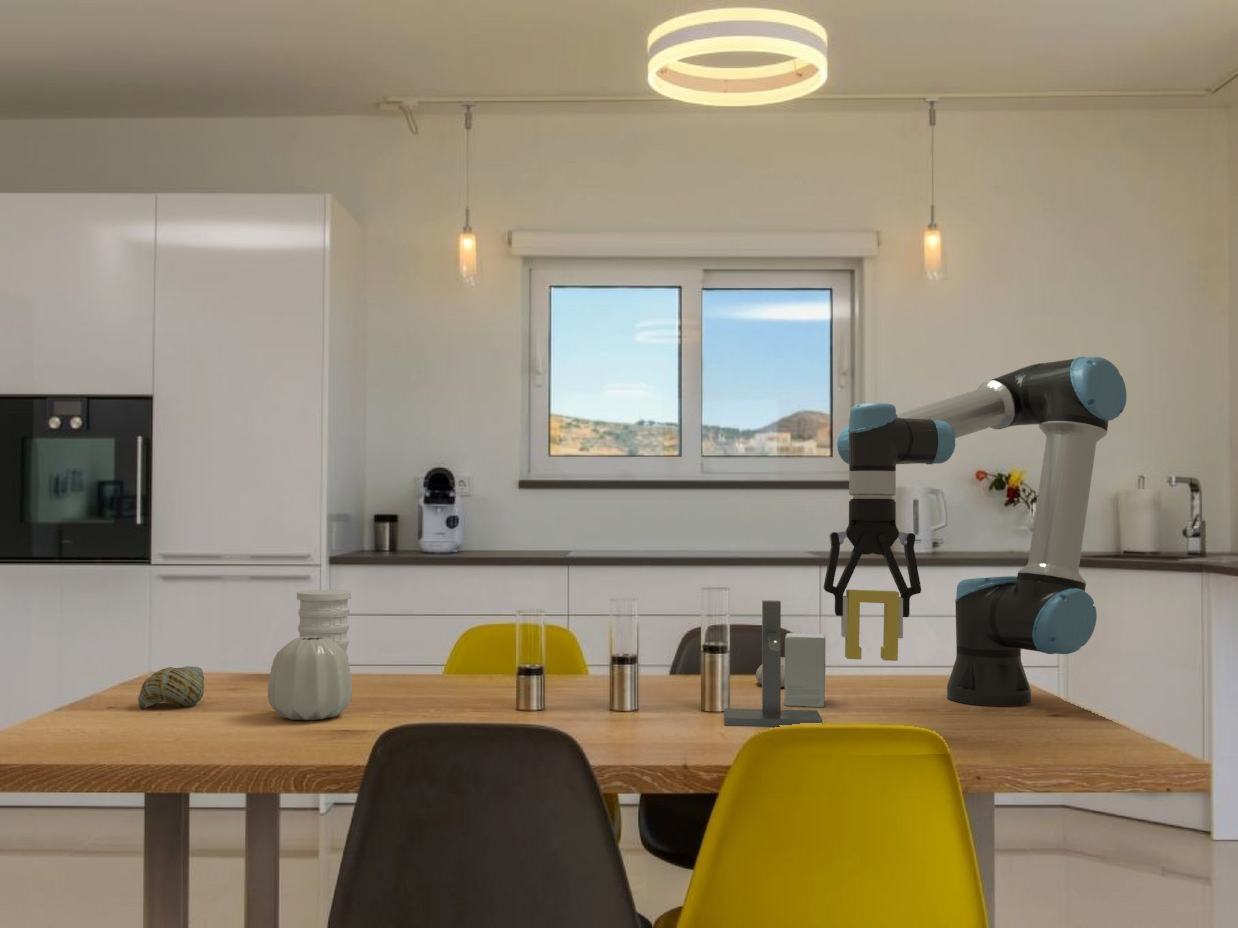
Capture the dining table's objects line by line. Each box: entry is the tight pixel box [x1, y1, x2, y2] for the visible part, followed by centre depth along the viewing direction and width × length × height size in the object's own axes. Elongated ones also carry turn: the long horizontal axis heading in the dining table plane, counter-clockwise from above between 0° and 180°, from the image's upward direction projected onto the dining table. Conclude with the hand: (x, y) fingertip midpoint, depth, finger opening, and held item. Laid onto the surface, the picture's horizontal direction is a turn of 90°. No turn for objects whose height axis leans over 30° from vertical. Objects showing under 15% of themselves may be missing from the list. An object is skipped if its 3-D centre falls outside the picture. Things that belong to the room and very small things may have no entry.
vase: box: [267, 636, 353, 721], centre depth 193 cm, size 14×14×13 cm
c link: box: [844, 588, 900, 662], centre depth 186 cm, size 8×4×11 cm, turn 86°
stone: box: [755, 656, 785, 689], centre depth 232 cm, size 13×10×8 cm
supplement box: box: [783, 632, 826, 708], centre depth 210 cm, size 7×7×13 cm
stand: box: [723, 599, 823, 727], centre depth 189 cm, size 16×16×20 cm
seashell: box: [137, 665, 205, 709], centre depth 203 cm, size 10×10×10 cm
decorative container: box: [296, 589, 352, 677], centre depth 234 cm, size 12×12×18 cm
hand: (871, 636), depth 186 cm, fingers closed on c link, 8 cm apart
